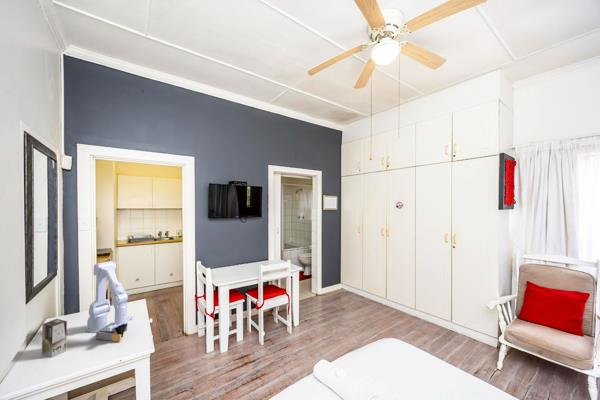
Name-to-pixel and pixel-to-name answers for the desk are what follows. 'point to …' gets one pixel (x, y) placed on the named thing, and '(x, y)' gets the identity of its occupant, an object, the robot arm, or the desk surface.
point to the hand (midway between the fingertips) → (120, 337)
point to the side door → (108, 336)
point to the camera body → (109, 331)
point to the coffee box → (54, 337)
